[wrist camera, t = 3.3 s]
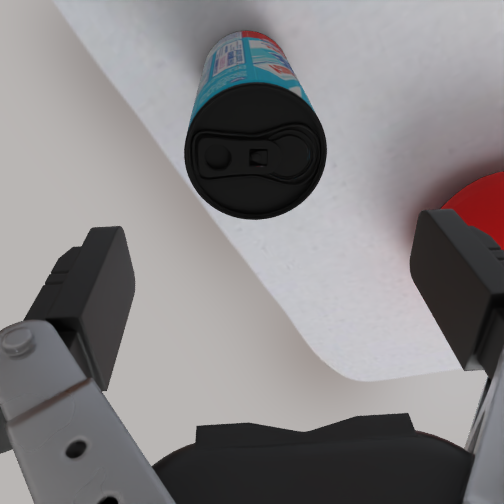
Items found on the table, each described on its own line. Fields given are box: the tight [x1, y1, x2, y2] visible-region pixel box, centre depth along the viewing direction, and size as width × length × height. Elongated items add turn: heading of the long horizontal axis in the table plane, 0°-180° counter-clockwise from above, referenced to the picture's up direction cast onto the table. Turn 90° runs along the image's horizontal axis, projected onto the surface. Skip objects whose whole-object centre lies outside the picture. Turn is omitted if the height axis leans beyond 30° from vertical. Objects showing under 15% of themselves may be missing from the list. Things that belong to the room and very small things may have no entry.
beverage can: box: [184, 31, 327, 220], centre depth 24 cm, size 6×6×15 cm
